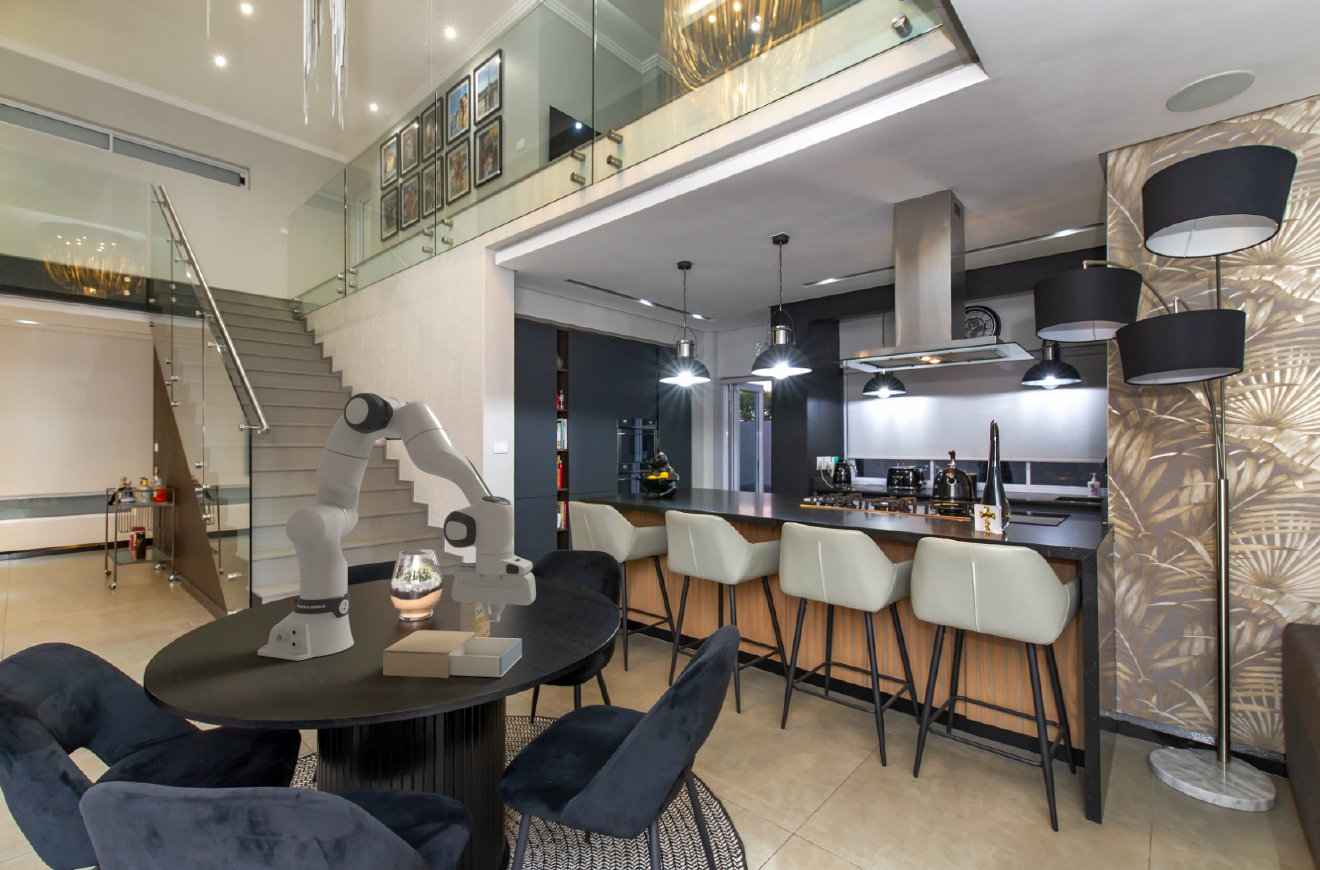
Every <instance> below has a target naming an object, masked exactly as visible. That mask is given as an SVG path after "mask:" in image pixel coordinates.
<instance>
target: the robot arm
mask: <svg viewBox="0 0 1320 870" xmlns="http://www.w3.org/2000/svg"><path fill="white" fill-rule="evenodd" d="M381 439H385V440H386V441H402V444H403V445H404V447H405V450H406V453H407V454H408V456H409V458H410V460H411V462H412V463H413V465H414V466H416V468H417V469H418V470H419V471H422V472H423V473H426V474H429V475H432V476H437V477H440V478H443V479H444V480H445V479H446V480H448V481H449V482H452V483H454V484H455V485H457V487H458V488H459V489H460V490H461V492H462V493H463V495H464V497H465V498H466V500H467V501H468V503H469V506H465V507H463V508H460V509H457V510H453V511H451V512H450V513H448V515H447V516H446V518H445V519H444V522H443V529H442V530H443V531H442V532H443V536H444V539H445V540H446V542H447V543H448V544H449V546H452V547H453V548H456V549H457V548H458V549H466V548H471V547H474V548H475V562H459V563H458V564H456V565H455V566H454V567H453V582H452V589H451V598H452V599H453V601H454V602H459V603H461V602H476V603H482V609H483V611H484V612H485V614H486V621H489V622H490V623H491V622H492V623H499V622H500V621H501V613H502V612H503V611H504V609H505V607H506V605H514V606H515V605H518V606H529V605H531V604H533V602H534V601H536V597H537V592H536V591H537V589H536V579H535V575H534V574H533V572H531V571H532V569H533V566H534V565H533V562H532V561H531V560H528V559H525V558H522V557H520V556H518V555H516V554H514V546H513V538H514V535H515V515H514V507H513V504H512V502H511V501H510V500H509V499H507V498H505V497H502V496H497V495H496V496H495V495H493V493H492V492H491V490H490V489H489V487H488V485H487V483H486V482H485V481H484V479H483V478H482V476H481V474H480V473H479V471H478V470H477V469H476V467H475V465H474V463H472V462H471V460H470V459H469V458H468V457H467V456H466V455H465V454H464V453H463V452H462V451H461V450H460V448H458V446H457V445H456V444H455V441H454V440H453V439H452V437H451V436H450V433H449V432H448V429H447V428H446V425H445V424H444V422H443V420H442V419H441V417H440V416H439V414H438V413H437V411H436V410H435V409H434V407H433V406H432V405H431V404H429V403H428V402H426V401H424V400H423V401H422V400H414V401H411V402H407V401H403V400H401V399H399V398H396V397H395V398H394V397H391V396H385V395H379V394H376V393H371V392H363V393H362V392H360V393H356V394H354V395H353V396H351V397H349V399H348V400H347V402H346V404H345V405H344V409H343V414H341V416H340V417H339V418H337V421H335V424H334V425H333V428H332V429H331V431H330V434H329V436H328V438H327V441H325V442H326V443H325V445H324V448H323V452H322V455H321V459H320V461H319V464H318V468H317V470H316V473H315V480H316V488H317V489H316V498H315V501H314V503H311V504H307V505H304V506H302V507H301V508H299V509H297V510H296V511H295V512H293V513H292V514H291V515H290V516H289V517H288V519H287V521H286V523H285V533H286V534H285V535H286V536H287V538H288V540H289V541H290V542H291V543H292V544H293V547H294V550H295V553H296V557H297V562H298V566H299V596H298V597H296V598H295V599H293V600H291V601H289V602H290V604H289V606H294V607H293V609H292V611H291V612H290V613H289V614H288V615H287V616H286V617H284V618H283V619H282V620H280V621H279V622H278V623H277V624H275V625H273V627H272V628H271V630H270V633H269V636H268V643H267V644H264V645H263V646H261V647H260V648H259V649H257V656H261V657H262V656H263V657H269V658H270V657H271V658H277V659H282V660H283V659H284V660H291V661H303V660H307V659H311V658H315V657H323V656H328V655H329V656H330V655H332V654H333V655H334V654H336V653H339V652H342V651H345V650H347V649H349V648H351V647H353V645H354V644H355V640H354V637H353V635H352V631H351V625H350V618H349V610H350V591H349V590H348V582H349V581H348V574H349V573H348V569H349V568H348V565H349V564H348V562H347V560H346V559H345V557H344V555H343V550H342V546H341V538H345V537H347V535H349V534H350V533H351V532H352V531H353V530H354V529H355V528H356V526H357V524H358V521H359V513H358V507H359V499H360V492H361V491H360V490H361V486H362V482H363V478H364V475H365V472H366V470H367V466H368V463H369V460H370V457H371V453H372V449H373V446H375V445H374V444H375V443H376V442H377V441H379V440H381ZM492 604H494V605H496V606H495V608H496V609H497V610H496V611H495V612H492V609H491V605H492ZM489 606H490V608H489Z"/></svg>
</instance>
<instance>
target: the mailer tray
mask: <svg viewBox="0 0 1320 870" xmlns="http://www.w3.org/2000/svg"><path fill="white" fill-rule="evenodd" d="M521 658H523V638H513V637H508V638H507V637H487V638H486V637H471V638H470V639H469V640H467V641H466V642H465V643H463V644H462V645H461V646H459V647H458V648H456V649H455V650H454V651H452V652H451V653H450V654H449V676H466V677H469V676H470V677H487V678H488V677H491V678H502V677H504V675H505V674H506V673H508V671H510V669H511V668H512V667H513V666H514V665H515V664H516V663H517V662H518V661H520V659H521Z"/></svg>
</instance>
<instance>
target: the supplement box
mask: <svg viewBox="0 0 1320 870" xmlns="http://www.w3.org/2000/svg"><path fill="white" fill-rule="evenodd" d="M489 608H490V609H491V605H490V606H489ZM460 631H463V632H476V637H486V638H490V636H491V622H489V621H486V614H485V612H484V611H483V609H482V603H476V602H460Z"/></svg>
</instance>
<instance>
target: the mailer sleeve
mask: <svg viewBox="0 0 1320 870" xmlns="http://www.w3.org/2000/svg"><path fill="white" fill-rule="evenodd" d="M471 637H476V632H463V631H461V630H460V631H459V630H458V631H456V630H455V631H454V630H431V629H430V630H427V629H417V630H415V631H414V632H412V633H410V634H409V635H408V636H407V635H406V636H405V637H403V638H402V639H400V640H399V641H397V642H395V643H393V644H391V645H390V646H388V647H386V648H384V649H383V650H382V655H383V656H382V657H383V658H382V669H383V670H382V675H383V676H391V677H392V676H394V677H397V676H398V677H414V678H415V677H416V678H417V677H419V678H437V677H439V678H440V679H448V678H450V675H449V654H450V653H451V652H452V651H454V650H455V649H456V648H458V647H459V646H461V645H462V644H463V643H465V642H466V641H467V640H469V639H470V638H471ZM439 678H438V679H439Z"/></svg>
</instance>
